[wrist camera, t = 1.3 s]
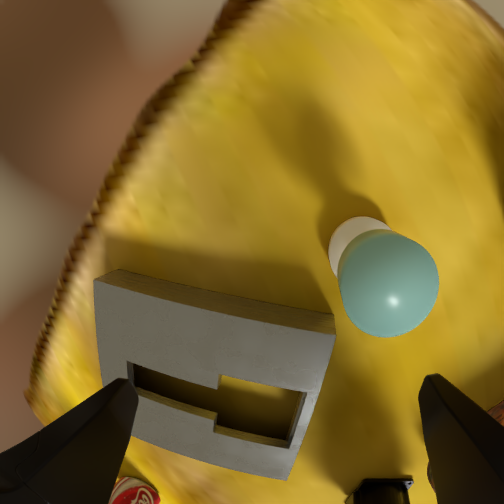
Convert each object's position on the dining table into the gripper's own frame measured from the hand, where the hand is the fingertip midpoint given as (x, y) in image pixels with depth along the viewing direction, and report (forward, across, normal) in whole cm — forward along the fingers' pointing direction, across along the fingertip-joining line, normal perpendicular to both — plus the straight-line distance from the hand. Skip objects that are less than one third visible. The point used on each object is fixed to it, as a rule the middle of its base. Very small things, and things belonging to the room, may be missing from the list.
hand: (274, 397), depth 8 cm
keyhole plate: (+12, +7, +12) cm, 19 cm away
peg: (+14, -5, +1) cm, 15 cm away
